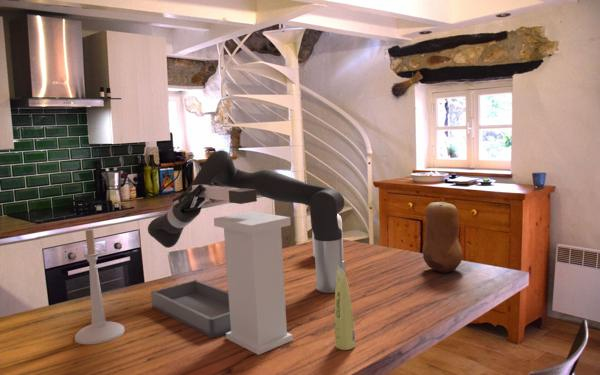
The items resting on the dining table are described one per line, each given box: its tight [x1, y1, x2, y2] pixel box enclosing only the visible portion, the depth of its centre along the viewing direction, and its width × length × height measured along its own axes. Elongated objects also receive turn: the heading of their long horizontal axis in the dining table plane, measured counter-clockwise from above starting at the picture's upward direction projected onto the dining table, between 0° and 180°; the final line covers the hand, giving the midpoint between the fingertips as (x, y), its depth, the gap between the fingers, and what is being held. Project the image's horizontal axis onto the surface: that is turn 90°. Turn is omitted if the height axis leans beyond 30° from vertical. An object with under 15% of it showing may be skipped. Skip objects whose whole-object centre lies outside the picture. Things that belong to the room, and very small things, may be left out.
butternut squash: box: [422, 201, 463, 274], centre depth 179 cm, size 14×13×25 cm
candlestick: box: [74, 227, 126, 345], centre depth 137 cm, size 13×13×30 cm
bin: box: [150, 279, 231, 339], centre depth 150 cm, size 35×16×5 cm, turn 42°
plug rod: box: [192, 184, 258, 205], centre depth 135 cm, size 25×5×3 cm, turn 42°
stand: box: [213, 210, 294, 356], centre depth 128 cm, size 16×12×32 cm
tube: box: [334, 266, 356, 351], centre depth 122 cm, size 6×5×20 cm
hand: (207, 186), depth 140 cm, fingers closed on plug rod, 3 cm apart
